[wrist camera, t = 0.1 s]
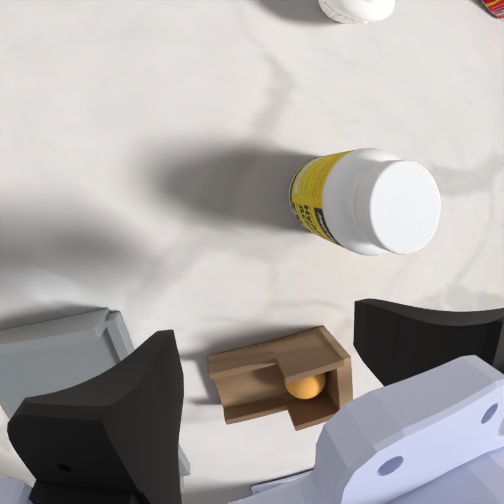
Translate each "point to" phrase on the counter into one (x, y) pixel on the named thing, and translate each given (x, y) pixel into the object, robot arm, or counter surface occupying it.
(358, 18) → the muffin
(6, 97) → the counter surface
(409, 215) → the supplement bottle
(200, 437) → the counter surface
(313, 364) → the box
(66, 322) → the tray
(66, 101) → the counter surface
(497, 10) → the soda can
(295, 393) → the ball
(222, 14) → the counter surface
